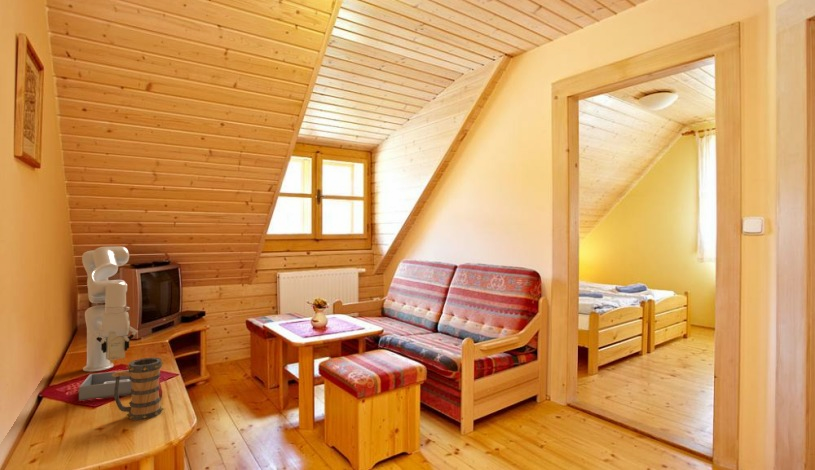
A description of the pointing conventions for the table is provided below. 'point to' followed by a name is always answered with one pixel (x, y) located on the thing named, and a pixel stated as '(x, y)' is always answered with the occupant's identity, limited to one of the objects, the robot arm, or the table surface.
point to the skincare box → (115, 346)
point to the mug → (141, 388)
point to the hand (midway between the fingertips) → (115, 350)
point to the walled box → (104, 386)
